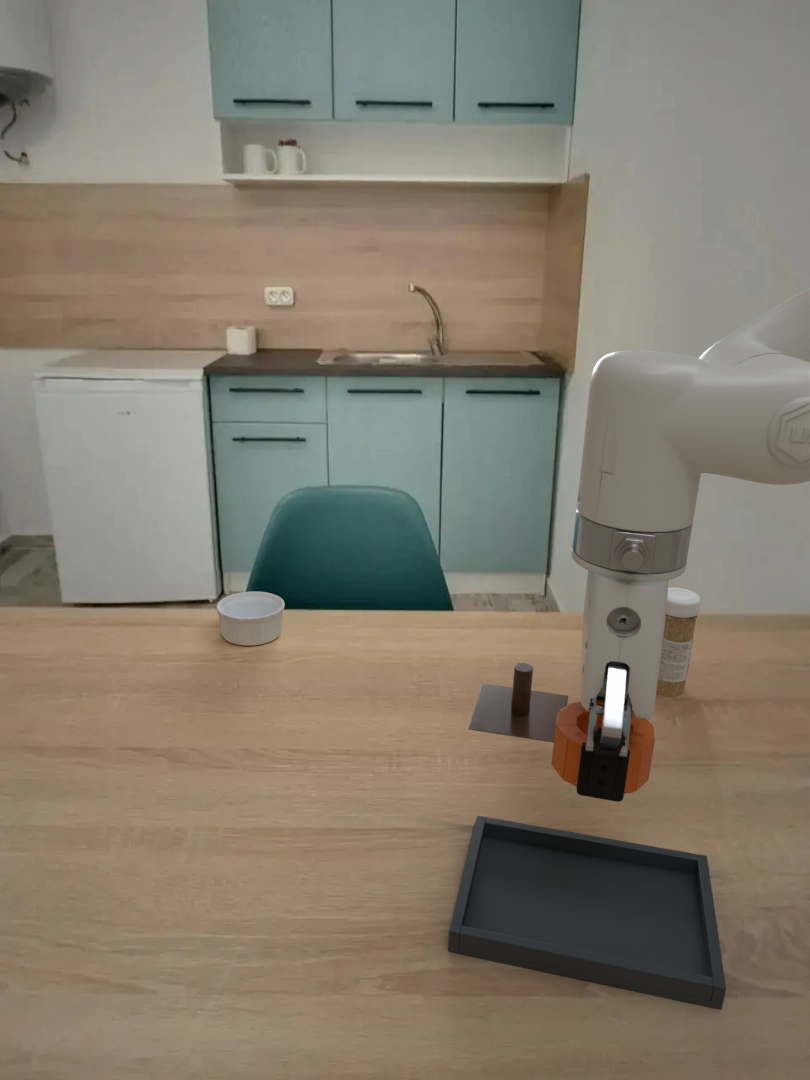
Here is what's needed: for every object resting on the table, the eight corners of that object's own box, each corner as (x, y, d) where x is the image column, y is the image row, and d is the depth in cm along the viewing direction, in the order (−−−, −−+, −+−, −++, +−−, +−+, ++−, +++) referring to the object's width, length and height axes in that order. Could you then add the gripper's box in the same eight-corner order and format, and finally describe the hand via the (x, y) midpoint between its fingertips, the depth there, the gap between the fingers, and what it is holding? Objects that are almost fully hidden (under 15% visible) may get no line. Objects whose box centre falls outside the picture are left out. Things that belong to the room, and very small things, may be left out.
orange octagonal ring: (646, 747, 64) (652, 707, 63) (649, 802, 58) (656, 760, 57) (555, 732, 66) (559, 694, 65) (548, 785, 59) (553, 744, 58)
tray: (703, 874, 71) (706, 855, 70) (721, 1009, 58) (726, 988, 58) (476, 833, 75) (477, 815, 74) (447, 951, 62) (449, 931, 62)
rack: (567, 706, 96) (572, 652, 93) (561, 755, 86) (568, 697, 84) (481, 694, 98) (484, 640, 95) (467, 741, 88) (470, 683, 86)
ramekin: (221, 619, 114) (219, 591, 113) (286, 618, 115) (285, 589, 114) (214, 650, 106) (212, 619, 105) (284, 648, 107) (283, 617, 106)
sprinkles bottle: (648, 684, 101) (663, 583, 96) (687, 694, 99) (704, 591, 94) (640, 702, 97) (655, 597, 92) (680, 712, 95) (698, 605, 90)
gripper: (700, 598, 47) (657, 852, 53) (679, 508, 63) (648, 711, 69) (566, 582, 48) (539, 830, 55) (579, 498, 64) (557, 697, 70)
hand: (600, 762), depth 62 cm, fingers closed on orange octagonal ring, 7 cm apart
